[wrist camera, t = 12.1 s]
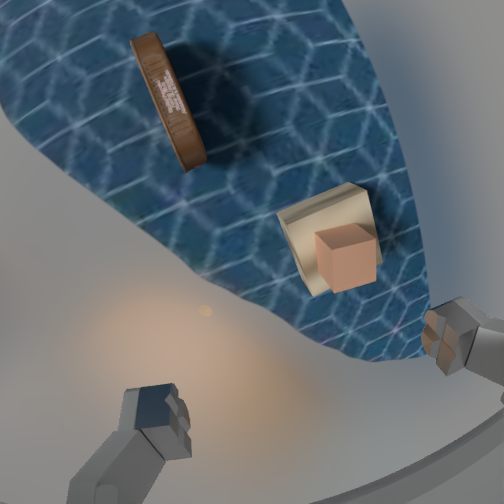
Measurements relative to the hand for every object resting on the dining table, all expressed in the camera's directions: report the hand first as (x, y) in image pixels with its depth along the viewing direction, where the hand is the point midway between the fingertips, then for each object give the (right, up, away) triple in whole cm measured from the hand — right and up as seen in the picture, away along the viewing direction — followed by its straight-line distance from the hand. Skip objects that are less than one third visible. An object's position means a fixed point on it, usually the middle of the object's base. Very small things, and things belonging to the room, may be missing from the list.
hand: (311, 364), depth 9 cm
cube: (+8, +4, +27) cm, 28 cm away
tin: (-10, +20, +22) cm, 31 cm away
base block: (+8, +6, +31) cm, 33 cm away
